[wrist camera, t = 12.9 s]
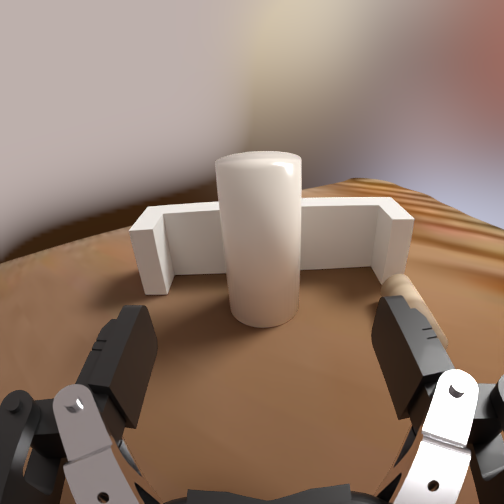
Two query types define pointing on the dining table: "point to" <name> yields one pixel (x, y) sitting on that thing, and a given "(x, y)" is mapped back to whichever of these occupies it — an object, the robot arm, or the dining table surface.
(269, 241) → the white pillar candle
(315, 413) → the dining table surface
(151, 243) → the stop rail
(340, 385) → the dining table surface
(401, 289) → the roller
